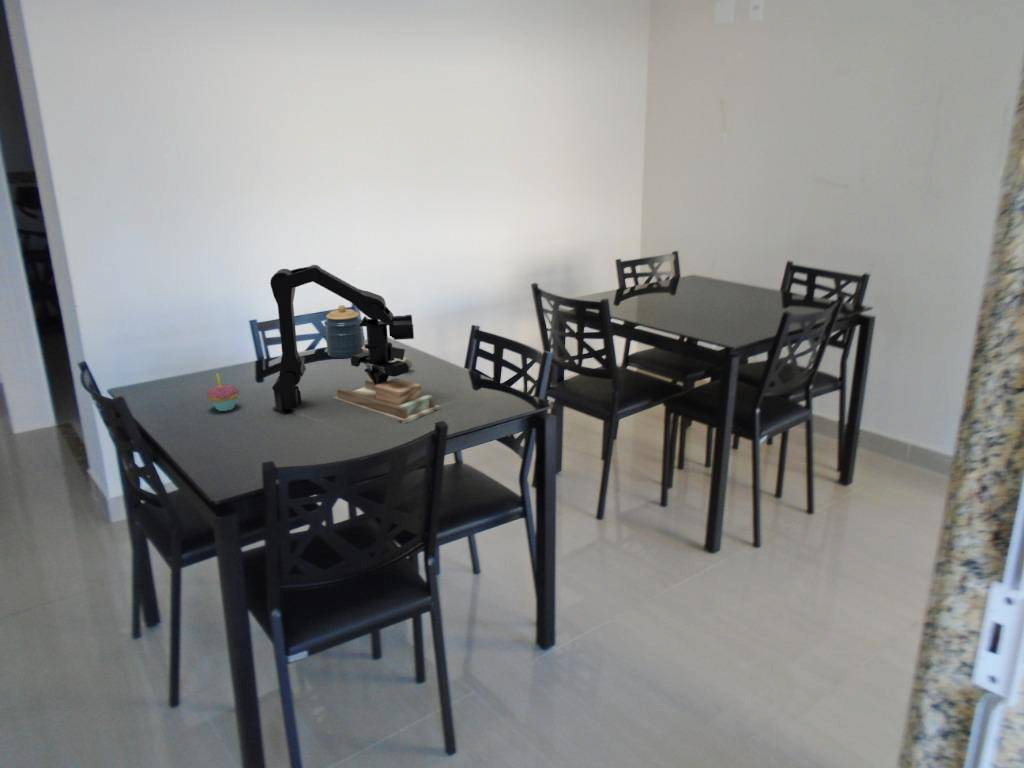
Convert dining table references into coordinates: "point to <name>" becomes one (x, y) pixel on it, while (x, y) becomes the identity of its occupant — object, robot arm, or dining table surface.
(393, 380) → the crate
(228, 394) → the cupcake
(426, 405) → the bay
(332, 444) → the dining table surface
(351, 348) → the canister
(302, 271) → the robot arm
